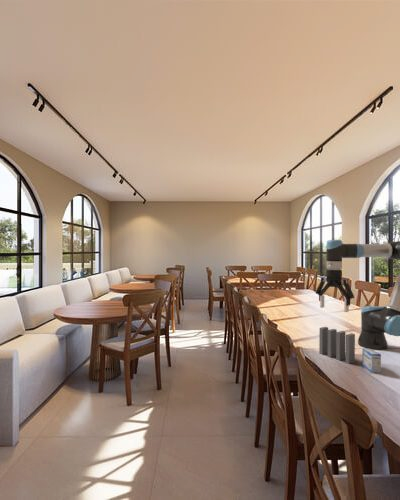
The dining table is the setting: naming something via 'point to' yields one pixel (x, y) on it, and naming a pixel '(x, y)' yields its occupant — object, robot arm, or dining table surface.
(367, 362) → the medicine box
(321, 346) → the domino
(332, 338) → the domino
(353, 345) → the domino
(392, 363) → the dining table surface
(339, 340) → the domino
